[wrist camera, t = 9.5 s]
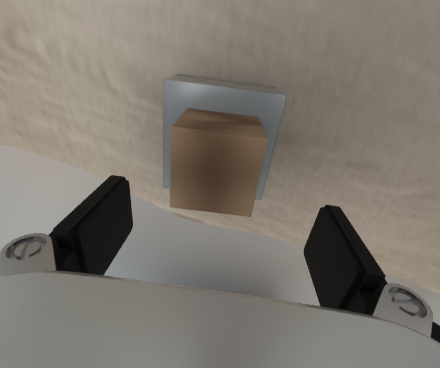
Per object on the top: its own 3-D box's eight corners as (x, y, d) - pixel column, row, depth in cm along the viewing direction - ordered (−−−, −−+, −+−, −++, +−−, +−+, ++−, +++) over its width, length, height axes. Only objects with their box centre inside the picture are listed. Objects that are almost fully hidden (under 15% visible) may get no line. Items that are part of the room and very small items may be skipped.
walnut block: (258, 117, 19) (268, 138, 14) (246, 179, 22) (250, 216, 17) (187, 108, 19) (171, 126, 14) (184, 172, 22) (170, 207, 17)
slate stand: (274, 87, 24) (286, 95, 18) (256, 173, 29) (261, 199, 23) (178, 74, 24) (162, 79, 18) (175, 163, 28) (163, 187, 23)
